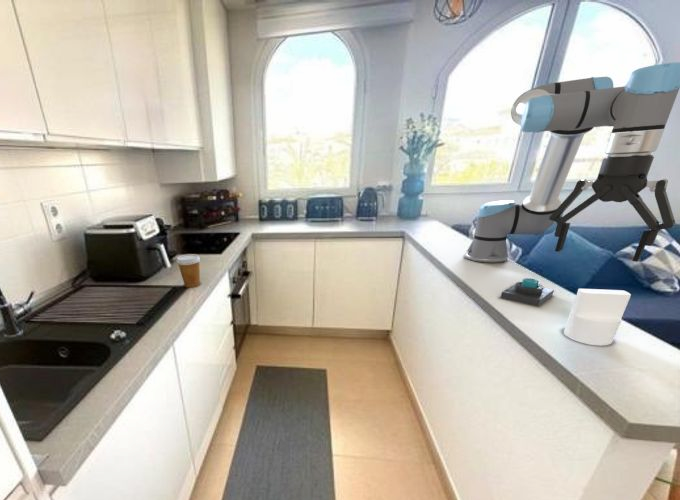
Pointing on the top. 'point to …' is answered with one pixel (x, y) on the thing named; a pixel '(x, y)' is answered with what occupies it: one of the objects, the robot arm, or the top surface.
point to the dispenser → (527, 294)
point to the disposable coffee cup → (189, 269)
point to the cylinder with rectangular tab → (596, 315)
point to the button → (530, 283)
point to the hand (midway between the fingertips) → (594, 255)
